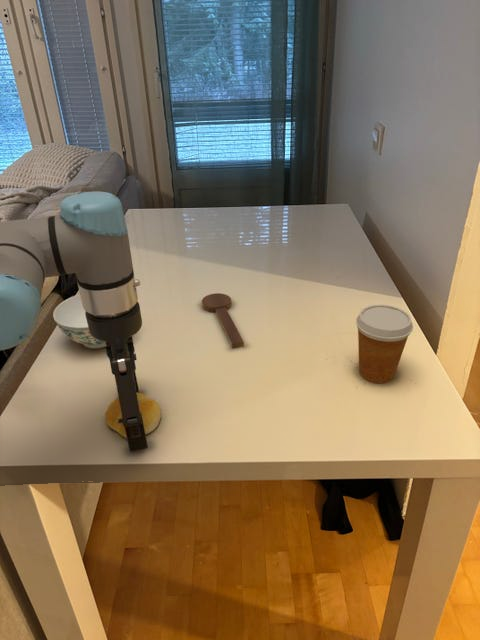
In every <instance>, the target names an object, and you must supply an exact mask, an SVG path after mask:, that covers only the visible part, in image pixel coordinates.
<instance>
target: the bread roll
mask: <svg viewBox="0 0 480 640" xmlns="http://www.w3.org/2000/svg"><path fill="white" fill-rule="evenodd" d="M137 398H138V403H139V409H140V412H141V414H142V419H143V424H144V430H145V435H147V434H150V433H152V432H153V431H154V430H155V429H156V428H157V427H158V425H159V423H160V421H161V417H162V410H161V407H160V405H159V403H158V402H157V401H156V400H155V399H151V398H150V397H149V396H147V395H146V394H143V393H142V392H139V393H138V392H137ZM120 418H122V413H121V407H120V402H119V397H116V398H115V399H114V400H113V401H111V402H110V403H109V405H108V406H107V408H106V411H105V414H104V419H105V422H106V424H107V425H108V426H109V427H110V428H111V429H113V430H114V431H115V432H117V433H118V434H119V435H120V436H122V437H124V438H127V436H126V431H125V427H124V426H123V423H118V419H120Z"/></svg>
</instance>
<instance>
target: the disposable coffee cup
mask: <svg viewBox="0 0 480 640" xmlns="http://www.w3.org/2000/svg"><path fill="white" fill-rule="evenodd" d="M355 324H356V327H357V337H358V338H357V339H358V342H357V343H358V348H357V349H358V373H359V375H360V376H361V378H363V379H364V380H366V381H368V382H370V383H374V384H386V383H389V382H391V381H393V379H394V378H395V375H396V372H397V370H398V366H399V364H400V360H401V359H402V355H403V352H404V350H405V347H406V344H407V341H408V338H409V336H410V335H411V333H412V332H413V330H414V324H413V322H412V317H411V315H410V314H409V313H408V311H407V312H406V311H405V310H404V309H402V308H400V307H397V306H393V305H389V304H372V305H367V306H365V307H364V308H362V309H361V310H360V311H359V314H357V316H356V318H355Z"/></svg>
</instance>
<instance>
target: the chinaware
mask: <svg viewBox="0 0 480 640" xmlns="http://www.w3.org/2000/svg"><path fill="white" fill-rule="evenodd" d="M85 312H86V311H85V310H84V308H83V304H82V300H81V296H80V293H79V294H76V295H72V296H70V297H69V298H67V299H65V300H63V301H62V302H60V303H59V304H58V305H57V306H56V307H55V308H54V310H53V313H52V316H53V320H54V322H55V324H56V325H57V328H59V330H60V331H61V332H62V333H63V334H64V335H65V336H66V337H67V338H68V339H70V340H72V341H74V342H76V343H78V344H81V345H83V346H84V347H86V348H89V349H101V348H104V347H105V348H106V341H100V340H97V339H95V338H94V337H93V336H92V335H91V334H90V332H89V328H88V323H87V319H86V315H85Z"/></svg>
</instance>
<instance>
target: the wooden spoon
mask: <svg viewBox="0 0 480 640" xmlns="http://www.w3.org/2000/svg"><path fill="white" fill-rule="evenodd" d="M201 307H202V309H203V310H204V311H206V312H208V313H215V315H216V316H215V317H216V318H217V320H218V323H219V324H220V326H221V328H222V330H223V332H224V335H225V336H226V339H227V340H228V342H229V345H230V347H231V348H232V349H236V348H242V347H244V340H243V338H242V336H241V334H240V331H239V330H238V329H237V326H236V324H235V323H234V321H233V319H232V317H231V315H230V314H229V311H228V310H229V309H231V307H232V298H231V297H230V295H228V294H225V293H221V292H220V293H219V292H218V293H217V292H216V293H209V294H207V295H205V296H204V297H203V298H202V299H201Z"/></svg>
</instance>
